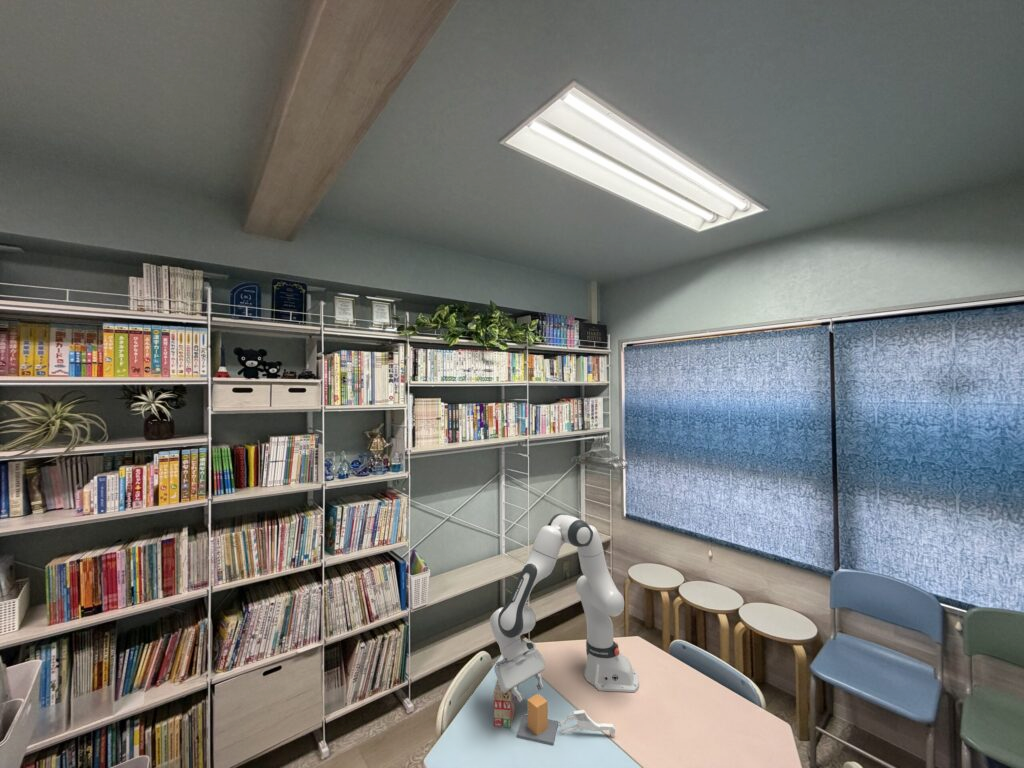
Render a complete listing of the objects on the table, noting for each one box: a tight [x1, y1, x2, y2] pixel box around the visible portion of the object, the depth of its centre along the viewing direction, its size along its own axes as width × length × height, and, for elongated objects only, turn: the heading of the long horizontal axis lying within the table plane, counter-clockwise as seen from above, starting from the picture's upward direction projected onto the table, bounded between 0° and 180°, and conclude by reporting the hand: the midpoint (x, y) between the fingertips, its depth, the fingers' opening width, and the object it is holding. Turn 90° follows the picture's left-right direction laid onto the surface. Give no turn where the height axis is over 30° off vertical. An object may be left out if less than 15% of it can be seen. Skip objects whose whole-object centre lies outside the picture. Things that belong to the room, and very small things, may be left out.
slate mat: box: [515, 713, 559, 746], centre depth 139 cm, size 13×10×1 cm
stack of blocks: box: [493, 679, 519, 729], centre depth 152 cm, size 21×6×12 cm, turn 172°
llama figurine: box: [558, 709, 616, 739], centre depth 138 cm, size 2×11×18 cm
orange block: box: [527, 693, 549, 735], centre depth 140 cm, size 5×5×9 cm
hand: (531, 694), depth 143 cm, fingers open, 8 cm apart
